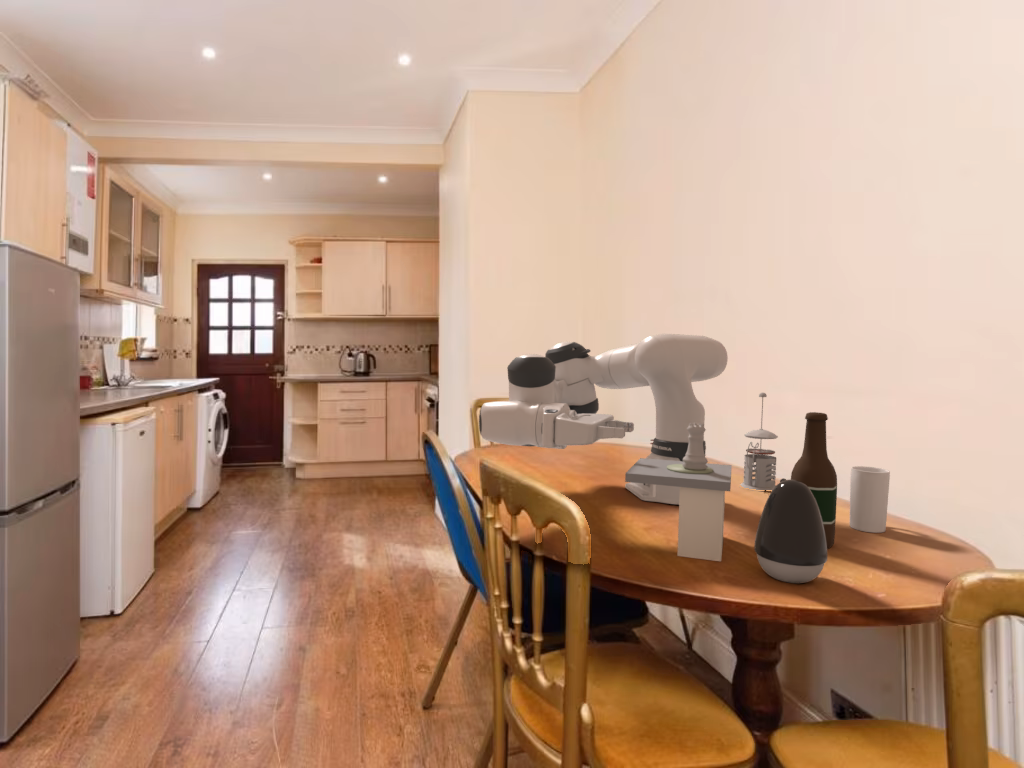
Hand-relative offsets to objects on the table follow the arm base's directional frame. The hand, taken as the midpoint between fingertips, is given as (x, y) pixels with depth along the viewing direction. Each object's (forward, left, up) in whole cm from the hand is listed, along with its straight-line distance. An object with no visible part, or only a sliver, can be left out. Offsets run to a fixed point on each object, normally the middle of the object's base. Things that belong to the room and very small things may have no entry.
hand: (629, 430), depth 112 cm
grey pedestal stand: (+6, +8, -20) cm, 22 cm away
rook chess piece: (+7, +9, -6) cm, 13 cm away
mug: (+6, +52, -20) cm, 56 cm away
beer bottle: (+12, +32, -20) cm, 39 cm away
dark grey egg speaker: (+25, +15, -20) cm, 35 cm away
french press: (-30, +55, -20) cm, 66 cm away
